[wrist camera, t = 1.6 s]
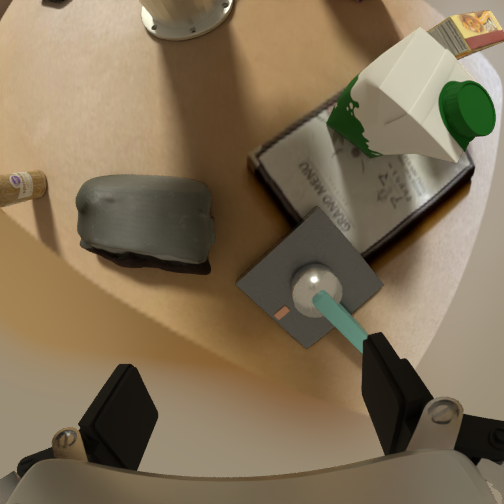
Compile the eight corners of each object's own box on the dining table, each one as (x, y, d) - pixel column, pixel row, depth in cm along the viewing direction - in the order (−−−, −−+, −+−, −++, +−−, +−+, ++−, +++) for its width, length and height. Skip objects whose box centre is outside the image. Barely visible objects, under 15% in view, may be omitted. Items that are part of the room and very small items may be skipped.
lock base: (317, 205, 35) (319, 207, 33) (379, 280, 38) (384, 285, 36) (236, 279, 38) (235, 284, 36) (305, 343, 41) (306, 349, 39)
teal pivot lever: (316, 254, 35) (323, 263, 31) (384, 330, 38) (393, 344, 34) (280, 286, 36) (282, 298, 33) (352, 355, 39) (358, 371, 36)
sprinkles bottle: (51, 181, 35) (-13, 193, 22) (39, 204, 36) (-22, 222, 23) (37, 163, 34) (-26, 170, 21) (25, 186, 35) (-35, 199, 22)
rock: (92, 252, 38) (62, 270, 30) (92, 173, 34) (58, 177, 27) (215, 267, 38) (205, 292, 30) (222, 179, 35) (212, 183, 27)
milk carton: (372, 168, 33) (475, 178, 14) (314, 124, 32) (377, 79, 13) (404, 118, 31) (511, 94, 12) (350, 74, 30) (428, 4, 11)
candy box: (428, 42, 27) (489, 7, 12) (443, 66, 28) (510, 40, 13) (388, 56, 29) (448, 14, 14) (405, 83, 30) (472, 52, 15)
